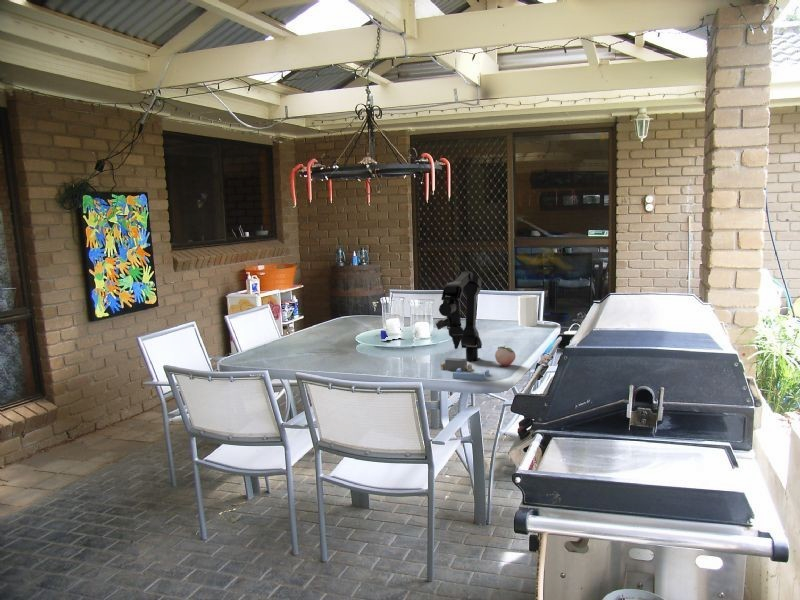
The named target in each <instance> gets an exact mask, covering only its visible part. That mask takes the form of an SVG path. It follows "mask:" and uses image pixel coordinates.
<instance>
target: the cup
mask: <svg viewBox="0 0 800 600" xmlns="http://www.w3.org/2000/svg"><path fill="white" fill-rule="evenodd" d="M517 299H518V300H517V301H518V306H517V307H518V326H520V327H524V328H525V327H526V328H528V327H536V326H538V296H537V295H536V294H535V295H534V294H524V295H523V294H522V295H518V297H517Z"/></svg>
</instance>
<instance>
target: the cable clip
mask: <svg viewBox="0 0 800 600" xmlns="http://www.w3.org/2000/svg"><path fill="white" fill-rule="evenodd" d="M399 328H400V330H401V331H402V329H401V327H399ZM388 336H389V335H388V334H387V330H384V329H383V330H382V329H381V330H380V340H381V339H385V338H386V337H388Z"/></svg>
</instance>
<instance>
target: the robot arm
mask: <svg viewBox="0 0 800 600" xmlns="http://www.w3.org/2000/svg"><path fill="white" fill-rule="evenodd" d="M481 288H482V281H481V278H480V277H479V276H478V275H475V274H474V273H473V272H472V271H461V272H460V275H459V276H458V277H457V278H455V279H454V281H451V282H448V283H446V284H445V285H444V287H443V289H442V295H441V299H440V300H441V301H442V303H441V304H440V305H439V307H438V312H439V314H440V315H441V316H442V318H440V319H438V320H436V321H434V324H435V326H436V328H437V330H441V329H443V328H447V330H448V332H447V333H448V336H449V337H451V340H452V344H453V346H454V349H455V350H457V349H458V347H459V345H460V346H461V349H465V359H467V362H475V361H477V362H478V361H479V360H481V357H479V349H482V346H483V342H482V340H481V338H480V334H479V331H478V329H477V327H476V323H477V322H476V321H477V318H476V317H477V297H478V296H479V294H480V292H481ZM463 292H464V294H465V296H466V302H465V303H466V304H465V305H466V306H465V307H466V308H465V309H466V310H465V326H464V328H463V327H462V318H461V317H462V313H461V298H462V295H463Z"/></svg>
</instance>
